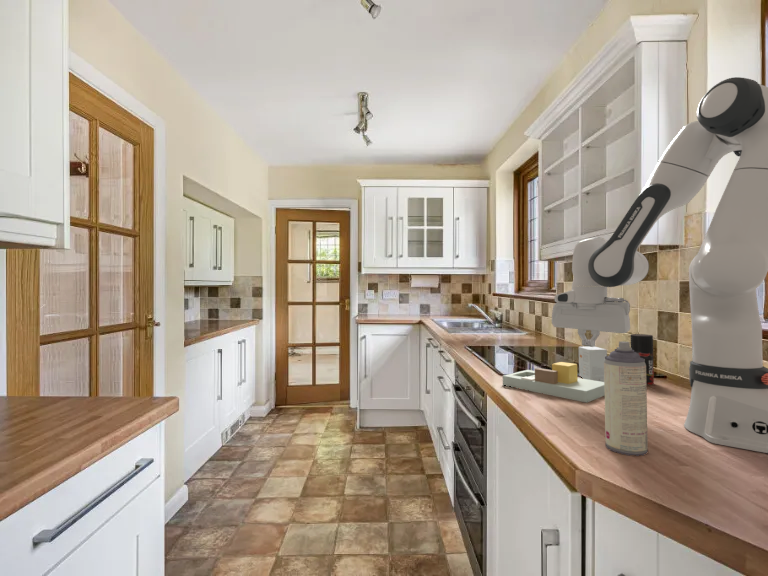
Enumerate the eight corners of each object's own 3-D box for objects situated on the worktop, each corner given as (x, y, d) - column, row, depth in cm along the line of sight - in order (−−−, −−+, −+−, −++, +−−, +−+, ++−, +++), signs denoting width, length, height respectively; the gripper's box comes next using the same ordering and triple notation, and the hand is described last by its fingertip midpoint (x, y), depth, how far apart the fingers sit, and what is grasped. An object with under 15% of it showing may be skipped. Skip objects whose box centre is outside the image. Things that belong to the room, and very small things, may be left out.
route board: (609, 393, 115) (609, 370, 115) (586, 402, 106) (586, 377, 106) (527, 378, 135) (527, 359, 135) (502, 385, 127) (502, 364, 127)
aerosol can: (634, 441, 79) (632, 339, 79) (656, 456, 72) (654, 344, 72) (598, 441, 79) (597, 339, 80) (616, 455, 73) (614, 344, 73)
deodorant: (635, 379, 131) (634, 333, 131) (656, 382, 127) (655, 335, 127) (628, 382, 127) (627, 335, 128) (649, 385, 123) (648, 336, 123)
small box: (608, 382, 128) (607, 349, 128) (590, 382, 128) (589, 349, 128) (595, 377, 136) (594, 346, 136) (578, 377, 136) (578, 346, 136)
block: (577, 381, 118) (577, 364, 118) (568, 383, 114) (568, 366, 115) (561, 378, 122) (560, 361, 122) (552, 381, 118) (552, 363, 118)
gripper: (634, 297, 106) (634, 350, 106) (560, 295, 122) (559, 341, 122) (624, 298, 102) (624, 352, 102) (549, 295, 118) (548, 342, 119)
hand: (588, 346), depth 113 cm, fingers closed
